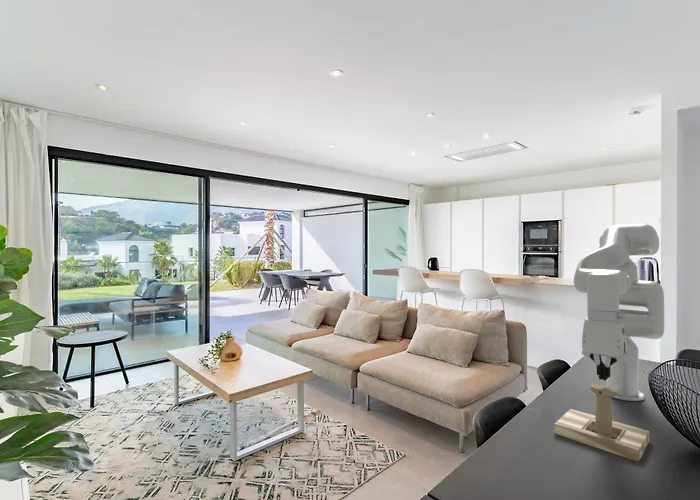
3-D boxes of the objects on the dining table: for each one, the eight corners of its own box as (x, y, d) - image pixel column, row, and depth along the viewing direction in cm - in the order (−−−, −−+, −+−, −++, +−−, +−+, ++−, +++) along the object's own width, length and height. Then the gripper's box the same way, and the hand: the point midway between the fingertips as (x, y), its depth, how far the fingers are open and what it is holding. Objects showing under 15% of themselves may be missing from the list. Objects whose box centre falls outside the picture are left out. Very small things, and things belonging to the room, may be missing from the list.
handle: (613, 447, 102) (613, 393, 102) (587, 438, 108) (587, 386, 107) (620, 441, 105) (619, 389, 105) (594, 432, 111) (594, 382, 110)
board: (570, 418, 120) (570, 408, 120) (649, 441, 105) (649, 430, 105) (554, 433, 110) (554, 423, 110) (638, 461, 96) (638, 449, 96)
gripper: (638, 316, 104) (638, 381, 104) (577, 310, 115) (578, 369, 115) (632, 321, 99) (632, 389, 99) (569, 314, 110) (570, 375, 110)
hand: (603, 378), depth 107 cm, fingers closed
